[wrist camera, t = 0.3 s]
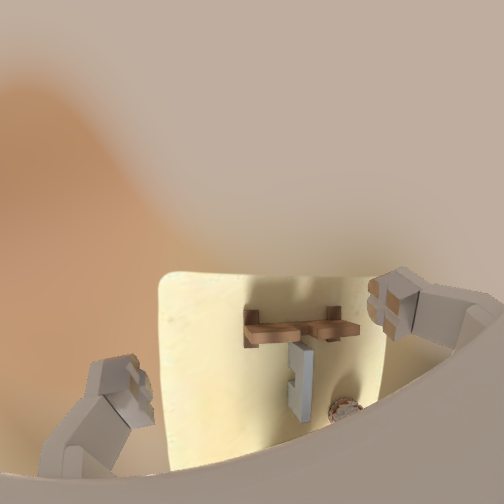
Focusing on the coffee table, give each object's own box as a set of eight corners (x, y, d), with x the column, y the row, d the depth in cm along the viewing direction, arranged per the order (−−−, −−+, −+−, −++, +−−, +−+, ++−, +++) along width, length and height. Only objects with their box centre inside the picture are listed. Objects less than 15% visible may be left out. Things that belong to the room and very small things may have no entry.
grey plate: (289, 340, 63) (304, 351, 53) (297, 339, 63) (313, 350, 54) (287, 404, 62) (300, 423, 52) (295, 403, 62) (310, 421, 52)
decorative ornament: (358, 413, 65) (388, 438, 50) (332, 428, 63) (359, 456, 49) (351, 391, 65) (382, 414, 50) (324, 406, 63) (351, 433, 49)
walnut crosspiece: (338, 306, 66) (360, 310, 56) (338, 339, 65) (358, 349, 55) (243, 310, 62) (251, 316, 52) (243, 346, 61) (251, 359, 51)
